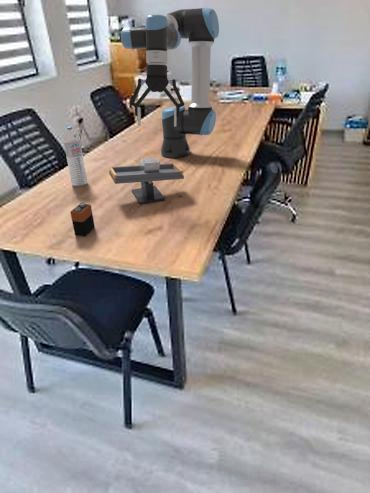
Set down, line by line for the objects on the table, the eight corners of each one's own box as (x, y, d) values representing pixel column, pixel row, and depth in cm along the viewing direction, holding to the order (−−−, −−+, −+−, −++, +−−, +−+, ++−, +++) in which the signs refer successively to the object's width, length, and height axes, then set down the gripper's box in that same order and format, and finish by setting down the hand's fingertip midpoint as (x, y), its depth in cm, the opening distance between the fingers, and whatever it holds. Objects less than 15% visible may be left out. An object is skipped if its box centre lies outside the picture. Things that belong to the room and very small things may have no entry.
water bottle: (72, 188, 173) (60, 129, 160) (71, 182, 179) (60, 125, 166) (88, 186, 175) (78, 128, 162) (87, 180, 180) (77, 124, 168)
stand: (155, 188, 169) (153, 172, 166) (165, 200, 158) (163, 183, 154) (132, 192, 166) (130, 176, 163) (140, 205, 155) (138, 188, 151)
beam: (173, 172, 167) (174, 162, 166) (183, 181, 158) (184, 171, 156) (109, 176, 159) (108, 166, 157) (115, 186, 149) (114, 176, 147)
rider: (155, 170, 161) (155, 157, 159) (159, 174, 156) (159, 162, 154) (140, 171, 159) (140, 158, 157) (144, 175, 154) (144, 163, 152)
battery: (95, 227, 140) (90, 201, 135) (85, 237, 135) (80, 210, 130) (84, 226, 141) (79, 200, 136) (74, 235, 136) (68, 209, 131)
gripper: (120, 63, 141) (122, 126, 149) (191, 64, 141) (190, 127, 149) (123, 64, 148) (126, 124, 156) (191, 65, 148) (190, 125, 155)
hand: (157, 125), depth 152 cm, fingers open, 13 cm apart
